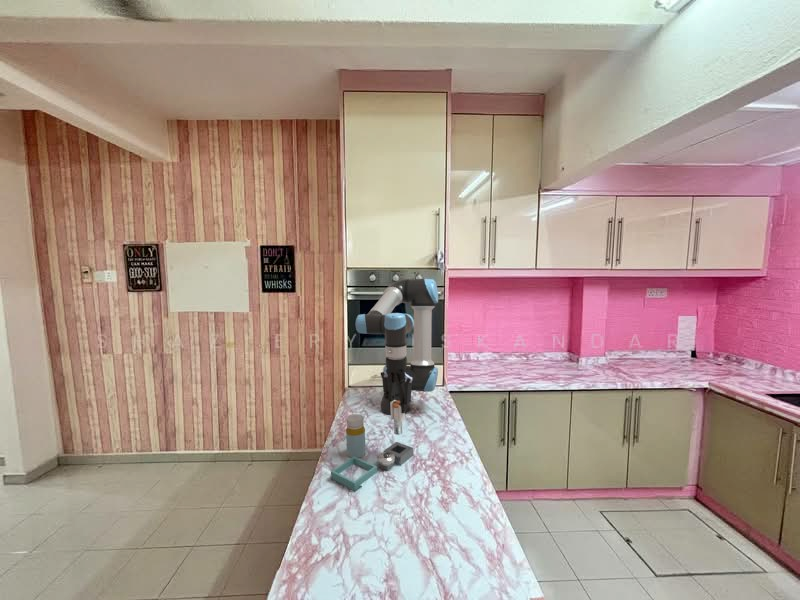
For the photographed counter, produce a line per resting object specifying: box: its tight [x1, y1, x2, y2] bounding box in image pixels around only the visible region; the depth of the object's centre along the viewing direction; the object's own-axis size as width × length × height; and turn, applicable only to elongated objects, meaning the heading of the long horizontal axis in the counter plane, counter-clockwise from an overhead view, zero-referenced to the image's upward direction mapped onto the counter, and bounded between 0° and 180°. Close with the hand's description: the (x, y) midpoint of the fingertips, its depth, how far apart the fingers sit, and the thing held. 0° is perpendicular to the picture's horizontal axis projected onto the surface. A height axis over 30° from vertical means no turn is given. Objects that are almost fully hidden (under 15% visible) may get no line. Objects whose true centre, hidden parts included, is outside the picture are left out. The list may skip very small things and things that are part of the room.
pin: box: [393, 401, 403, 436], centre depth 125 cm, size 3×3×12 cm
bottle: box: [345, 413, 367, 459], centre depth 128 cm, size 7×7×15 cm
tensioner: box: [377, 441, 414, 472], centre depth 123 cm, size 14×8×5 cm, turn 143°
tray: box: [330, 457, 378, 493], centre depth 116 cm, size 11×11×3 cm
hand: (397, 419), depth 125 cm, fingers closed on pin, 3 cm apart
